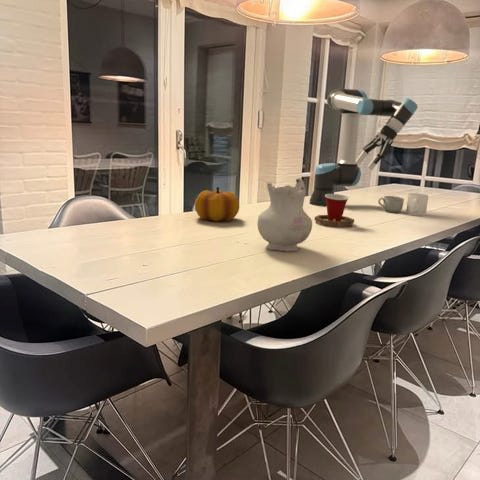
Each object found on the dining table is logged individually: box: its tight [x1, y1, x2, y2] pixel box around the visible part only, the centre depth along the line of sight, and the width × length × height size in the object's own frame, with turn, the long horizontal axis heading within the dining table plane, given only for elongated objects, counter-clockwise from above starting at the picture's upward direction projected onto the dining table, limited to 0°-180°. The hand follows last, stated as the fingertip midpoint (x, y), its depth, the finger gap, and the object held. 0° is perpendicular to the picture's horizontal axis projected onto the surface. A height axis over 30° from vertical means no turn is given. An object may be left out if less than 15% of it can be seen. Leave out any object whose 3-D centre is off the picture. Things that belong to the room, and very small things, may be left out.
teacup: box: [377, 195, 405, 214], centre depth 264 cm, size 14×11×8 cm
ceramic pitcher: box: [256, 177, 313, 253], centre depth 172 cm, size 22×20×25 cm
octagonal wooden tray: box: [314, 214, 355, 229], centre depth 222 cm, size 17×17×4 cm
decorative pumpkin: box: [194, 186, 240, 223], centre depth 218 cm, size 20×22×15 cm
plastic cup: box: [325, 193, 350, 222], centre depth 221 cm, size 11×11×12 cm
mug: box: [405, 192, 429, 217], centre depth 258 cm, size 14×10×11 cm
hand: (363, 165), depth 231 cm, fingers open, 13 cm apart
